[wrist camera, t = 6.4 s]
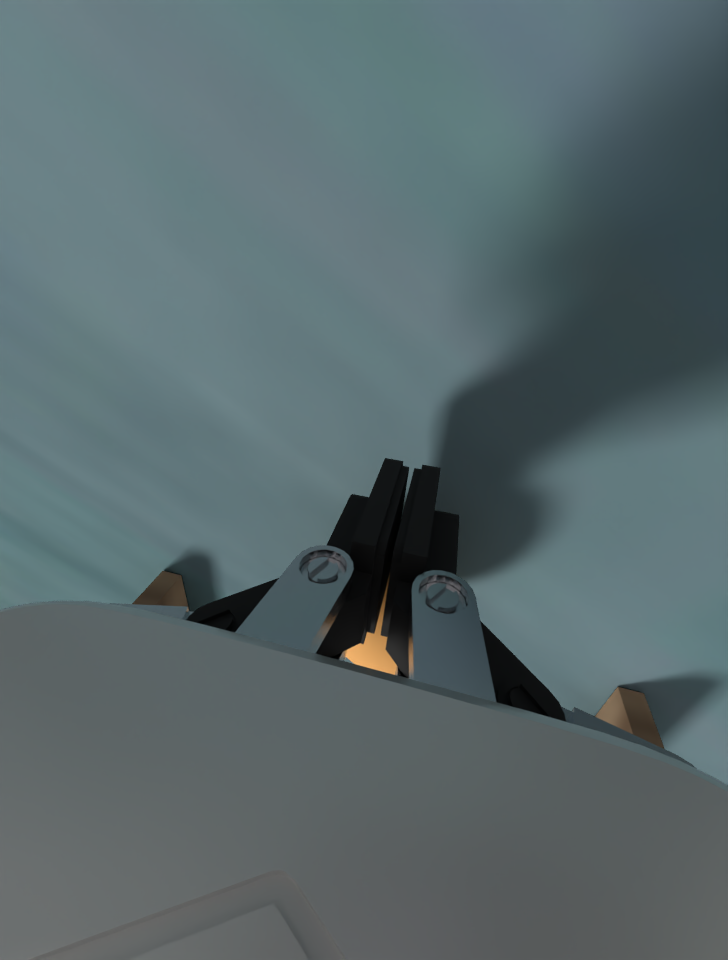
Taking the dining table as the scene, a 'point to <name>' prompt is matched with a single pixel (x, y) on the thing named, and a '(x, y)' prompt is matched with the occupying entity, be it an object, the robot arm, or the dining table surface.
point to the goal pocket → (618, 710)
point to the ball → (374, 648)
